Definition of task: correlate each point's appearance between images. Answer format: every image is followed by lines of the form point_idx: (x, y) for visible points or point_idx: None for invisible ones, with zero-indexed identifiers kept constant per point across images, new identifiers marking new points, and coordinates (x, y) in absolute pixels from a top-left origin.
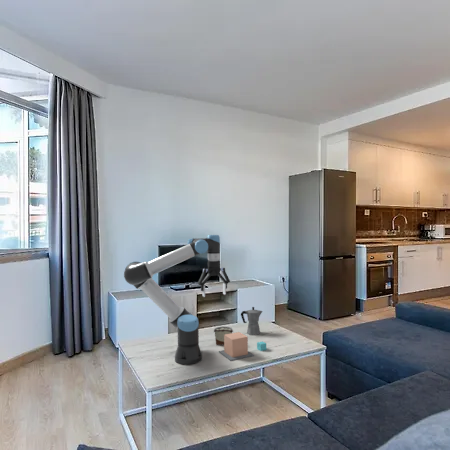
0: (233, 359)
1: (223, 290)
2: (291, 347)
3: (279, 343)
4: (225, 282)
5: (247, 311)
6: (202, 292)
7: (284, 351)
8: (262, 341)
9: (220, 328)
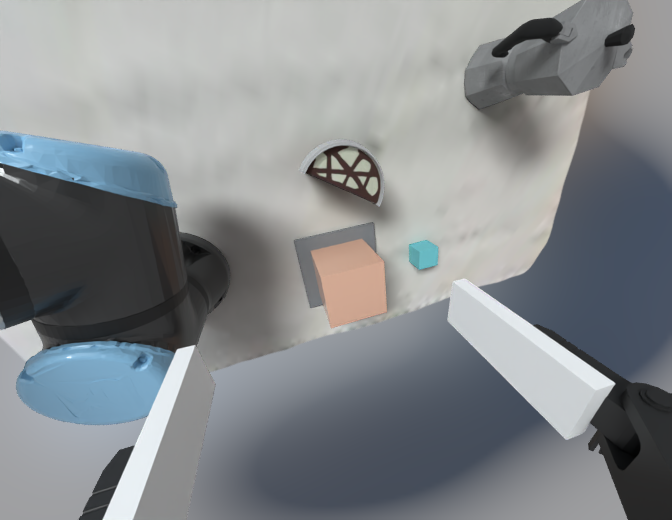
0: (318, 305)
1: (482, 321)
2: (486, 256)
3: (483, 220)
4: (613, 460)
5: (567, 41)
6: (160, 400)
7: (455, 276)
8: (437, 247)
9: (340, 150)
